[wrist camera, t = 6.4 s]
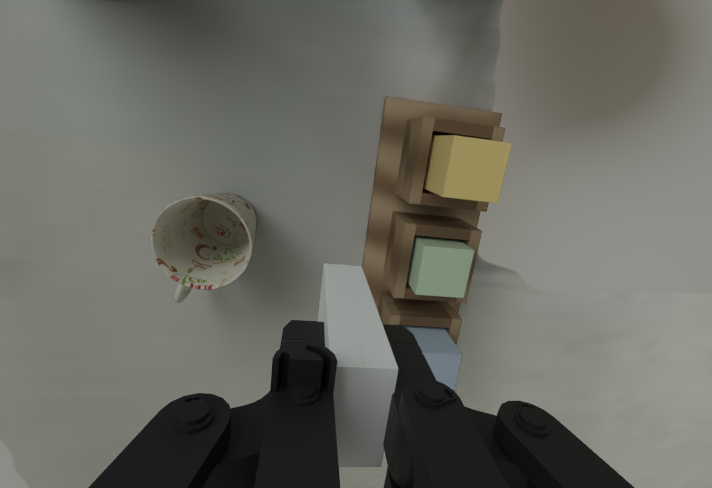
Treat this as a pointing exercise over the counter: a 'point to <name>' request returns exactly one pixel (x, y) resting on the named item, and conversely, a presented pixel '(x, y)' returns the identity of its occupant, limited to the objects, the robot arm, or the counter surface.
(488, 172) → the button ochre
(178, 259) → the mug
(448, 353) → the button slate
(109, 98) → the counter surface
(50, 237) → the counter surface
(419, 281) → the button sage
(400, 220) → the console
